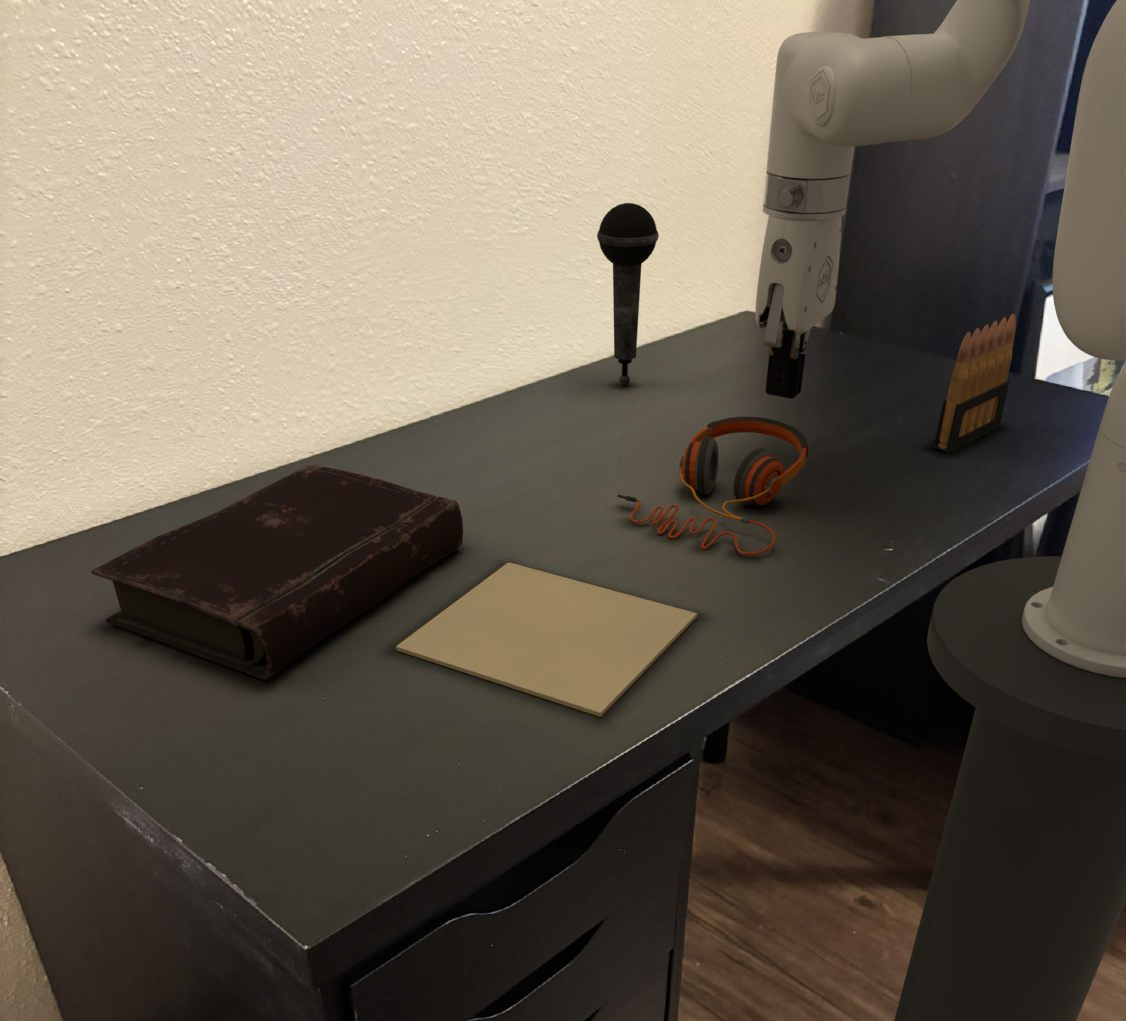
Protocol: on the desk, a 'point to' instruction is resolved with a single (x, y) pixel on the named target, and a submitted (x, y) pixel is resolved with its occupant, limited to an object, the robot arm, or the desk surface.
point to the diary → (280, 566)
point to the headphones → (752, 479)
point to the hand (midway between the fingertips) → (782, 393)
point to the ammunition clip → (977, 386)
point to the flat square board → (550, 637)
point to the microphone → (627, 272)
